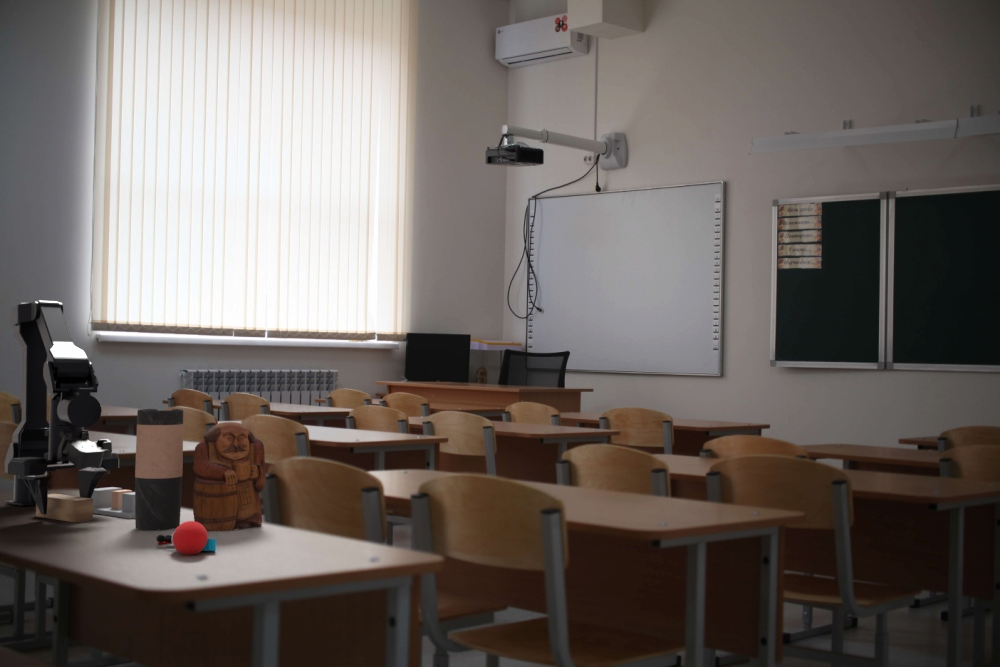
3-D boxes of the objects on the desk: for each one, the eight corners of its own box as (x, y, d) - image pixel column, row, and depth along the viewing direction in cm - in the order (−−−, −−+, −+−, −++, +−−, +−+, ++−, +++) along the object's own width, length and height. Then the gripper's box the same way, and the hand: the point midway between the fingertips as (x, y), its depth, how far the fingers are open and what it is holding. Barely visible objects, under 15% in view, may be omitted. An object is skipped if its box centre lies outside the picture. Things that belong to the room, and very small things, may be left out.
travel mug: (150, 532, 163) (153, 410, 163) (124, 527, 167) (127, 409, 168) (190, 527, 169) (193, 409, 170) (164, 522, 173) (166, 408, 174)
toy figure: (151, 555, 152) (168, 554, 139) (154, 523, 153) (171, 519, 140) (202, 556, 156) (222, 555, 143) (204, 524, 157) (225, 520, 144)
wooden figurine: (207, 533, 162) (210, 423, 163) (188, 529, 166) (191, 422, 167) (270, 526, 170) (272, 421, 171) (250, 522, 175) (252, 420, 176)
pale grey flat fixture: (76, 510, 186) (77, 489, 186) (117, 505, 194) (118, 485, 194) (130, 518, 177) (131, 496, 178) (171, 512, 185) (172, 491, 185)
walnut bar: (35, 517, 179) (36, 495, 179) (53, 515, 182) (54, 493, 182) (74, 523, 173) (75, 500, 173) (92, 521, 176) (93, 498, 176)
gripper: (44, 428, 166) (42, 522, 165) (139, 424, 182) (137, 509, 181) (7, 426, 172) (4, 516, 171) (101, 422, 188) (99, 504, 187)
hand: (64, 511), depth 177 cm, fingers open, 8 cm apart
